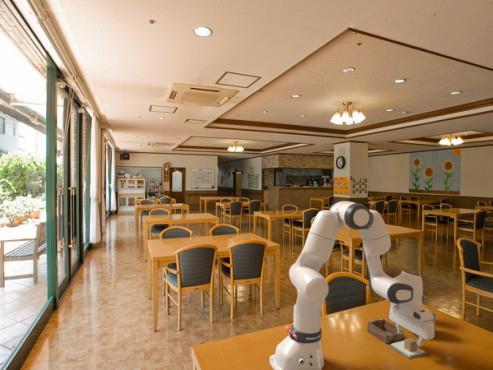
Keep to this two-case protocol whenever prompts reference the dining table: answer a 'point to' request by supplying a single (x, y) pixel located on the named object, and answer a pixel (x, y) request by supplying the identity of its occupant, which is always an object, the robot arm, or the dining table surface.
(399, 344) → the cover plate
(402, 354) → the mat
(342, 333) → the dining table surface
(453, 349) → the dining table surface
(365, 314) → the dining table surface
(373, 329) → the open wooden box
